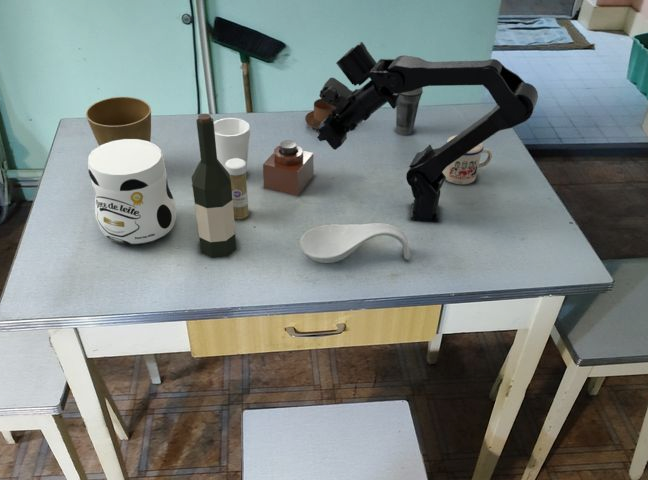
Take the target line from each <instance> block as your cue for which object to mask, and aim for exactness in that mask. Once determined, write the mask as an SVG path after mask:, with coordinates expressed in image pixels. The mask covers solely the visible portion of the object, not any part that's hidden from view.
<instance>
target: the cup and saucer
mask: <svg viewBox="0 0 648 480" xmlns="http://www.w3.org/2000/svg"><path fill="white" fill-rule="evenodd" d="M334 108H335V106H333V105H329V104H327V103H326V102H325V101H323V100H322V99H321V98H318V99H316V100H315V101H314V102H313V110H312V111H309V112H308V113H307V114H306V115H305V119H304V120H305V123H306V124H307V125H308V126H309V127H310V128H311V129H314V130H317V131H318V129H317V127H318V126H319V125H320V123H321V122H322V121H323V120H324V119H325V118H326V117H327V116H328V115H329V113H330V114H331V115H332V110H333V109H334Z"/></svg>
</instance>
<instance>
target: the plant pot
mask: <svg viewBox="0 0 648 480" xmlns="http://www.w3.org/2000/svg"><path fill="white" fill-rule="evenodd" d="M85 117H86V120H87V122H88V125H89V127H90V129H91V131H92V134H93V136H94V138H95V141H96V142H97V144H98V147H99V146H100V145H102V144H105V143H108V142H111V141H116V140H122V139H139V140H144V141H149V142H151V137H152V107H151V105H150V104H149V103H148V102H146V101H145V100H142V99H140V98H137V97H131V96H113V97H108V98H104V99H101V100H98V101H96V102H94V103H93V104H91V105H90V106H89V107H88V108H87V109H86V111H85Z"/></svg>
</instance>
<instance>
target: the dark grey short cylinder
mask: <svg viewBox="0 0 648 480" xmlns="http://www.w3.org/2000/svg"><path fill="white" fill-rule="evenodd" d="M279 146H280V153H281V154H282V155H285V156H292V155H295V154H296V153H297V146H298V144H297V142H296V141H294V140H288V139H287V140H283V141H280V143H279Z"/></svg>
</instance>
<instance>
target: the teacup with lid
mask: <svg viewBox="0 0 648 480" xmlns="http://www.w3.org/2000/svg"><path fill="white" fill-rule="evenodd" d="M457 135H458V134H455V135H452V136H450V137H449V138H448V139H447V141H446V143H447V142H449V141H450V140H452V139H453V138H454V137H456V136H457ZM484 153H485V154H487V158H486V159H485V161H483V162H481V163H480V161H481V157H482V154H484ZM492 158H493V153H492V151H491V150H490V149H489V148H484V144H483V142H482V143H480V144H479V145H478V146H476V147H475V148H473V149H472V150H470V151H469V152H467V153H466V154H464V155H463V156H462V157H460V158H459V159H457V160H456V161H454V162H453V163H451V164H450V165H448V166H447V167H446V168H445V169H444V170H443V174H444V175H445V176H446V179H445V181H447V182H449V183H451V184H455V185H468V184H472V183H473V182H475V180H476V179H477V176H478V171H479V169H481V168H484V167H486V166H488V164H489V163H490V162H491V161H492Z"/></svg>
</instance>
